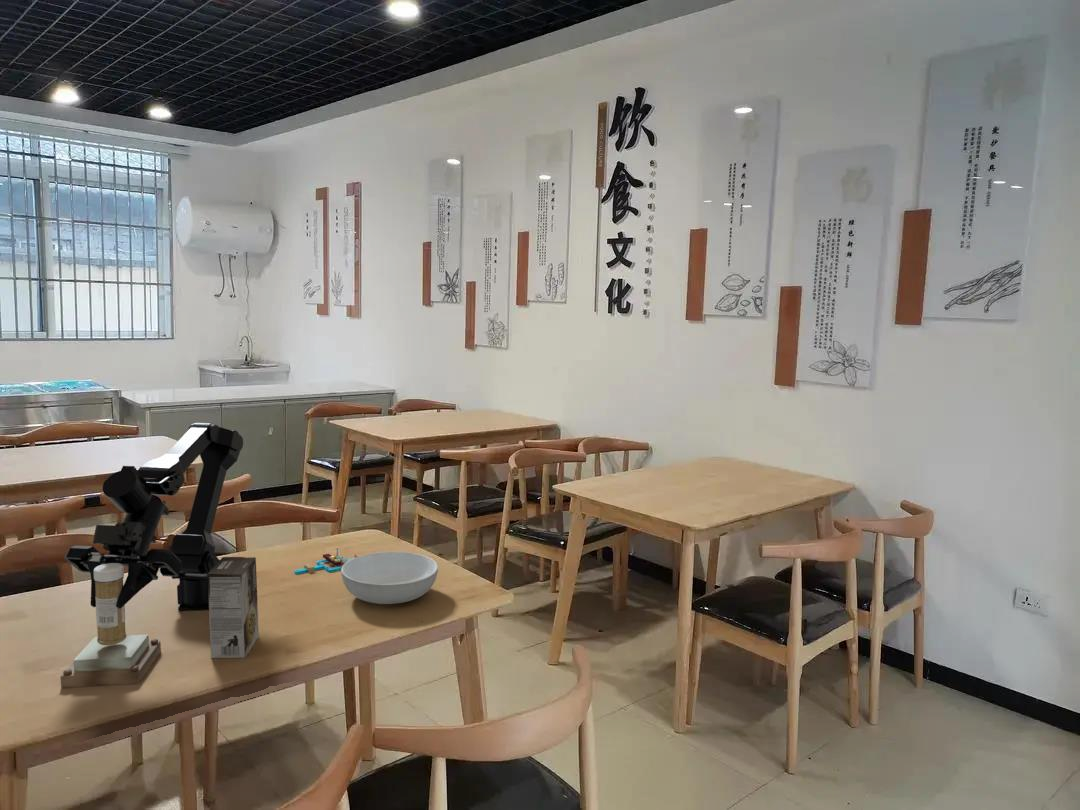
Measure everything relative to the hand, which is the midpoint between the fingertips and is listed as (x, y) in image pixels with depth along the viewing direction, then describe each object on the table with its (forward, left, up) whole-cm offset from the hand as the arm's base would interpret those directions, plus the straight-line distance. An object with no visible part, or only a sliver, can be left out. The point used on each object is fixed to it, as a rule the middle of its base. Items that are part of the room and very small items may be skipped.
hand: (105, 607), depth 132 cm
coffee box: (-19, -7, -12) cm, 24 cm away
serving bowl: (-47, -29, -12) cm, 57 cm away
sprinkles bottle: (0, -1, -7) cm, 7 cm away
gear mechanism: (-33, -51, -13) cm, 62 cm away
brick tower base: (0, -1, -12) cm, 12 cm away
